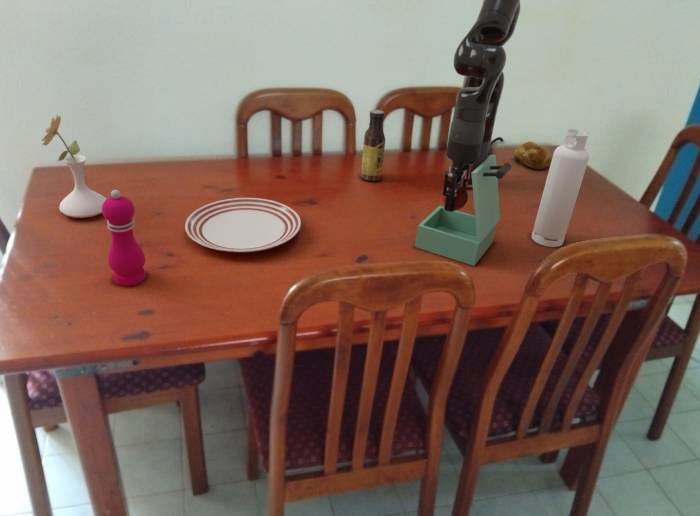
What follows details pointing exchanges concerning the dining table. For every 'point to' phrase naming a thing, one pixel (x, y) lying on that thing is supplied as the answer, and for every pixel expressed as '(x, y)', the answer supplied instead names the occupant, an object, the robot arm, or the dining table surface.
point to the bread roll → (533, 155)
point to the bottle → (561, 190)
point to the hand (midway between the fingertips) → (453, 205)
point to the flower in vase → (81, 198)
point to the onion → (459, 198)
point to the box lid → (487, 195)
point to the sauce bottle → (373, 148)
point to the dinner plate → (243, 225)
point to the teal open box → (452, 236)
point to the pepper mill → (123, 241)
